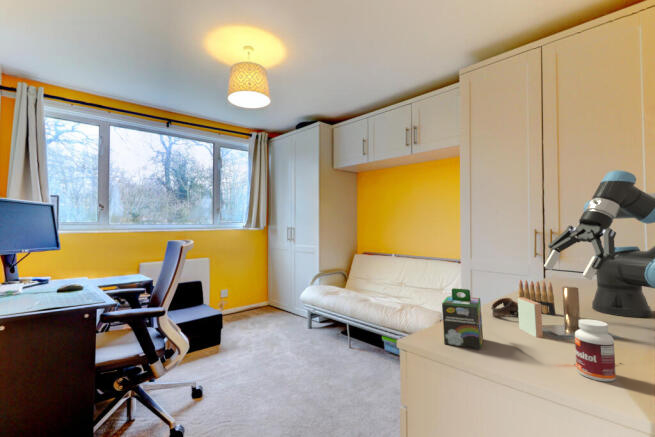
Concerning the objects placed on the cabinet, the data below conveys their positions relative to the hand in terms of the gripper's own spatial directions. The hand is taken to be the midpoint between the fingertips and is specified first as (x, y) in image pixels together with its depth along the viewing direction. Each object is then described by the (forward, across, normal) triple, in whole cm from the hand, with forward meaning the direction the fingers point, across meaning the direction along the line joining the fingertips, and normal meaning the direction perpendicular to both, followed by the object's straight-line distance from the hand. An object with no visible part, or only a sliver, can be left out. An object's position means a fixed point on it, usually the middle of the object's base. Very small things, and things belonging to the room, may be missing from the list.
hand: (565, 272), depth 95 cm
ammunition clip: (+15, -11, +9) cm, 21 cm away
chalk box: (+35, +8, -24) cm, 43 cm away
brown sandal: (+22, -8, -1) cm, 23 cm away
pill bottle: (+25, +30, -12) cm, 41 cm away
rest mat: (+17, +9, +3) cm, 19 cm away
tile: (+23, +7, -7) cm, 25 cm away
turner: (+16, +8, +3) cm, 18 cm away
